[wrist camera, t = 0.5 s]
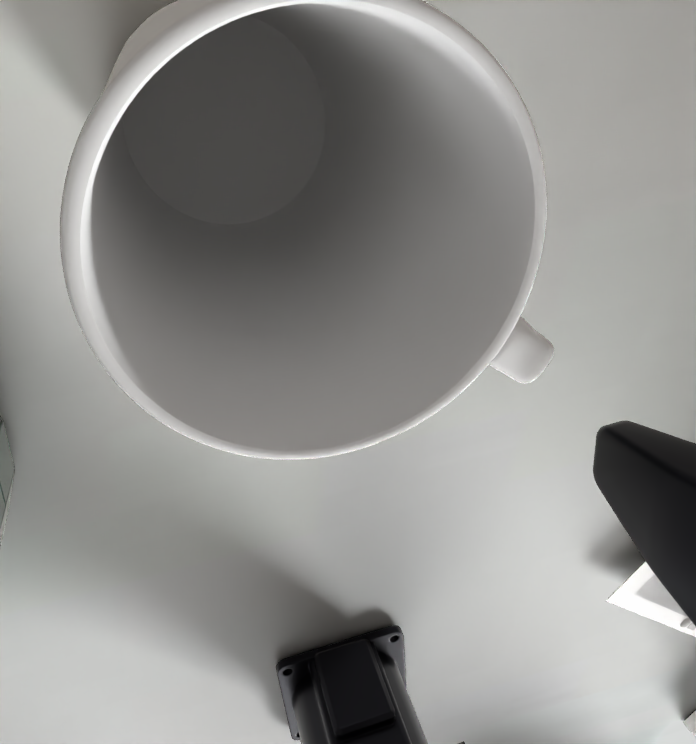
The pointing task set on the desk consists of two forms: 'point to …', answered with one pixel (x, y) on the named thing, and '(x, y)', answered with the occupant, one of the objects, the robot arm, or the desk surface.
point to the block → (691, 723)
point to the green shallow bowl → (5, 477)
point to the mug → (304, 222)
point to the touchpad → (651, 600)
